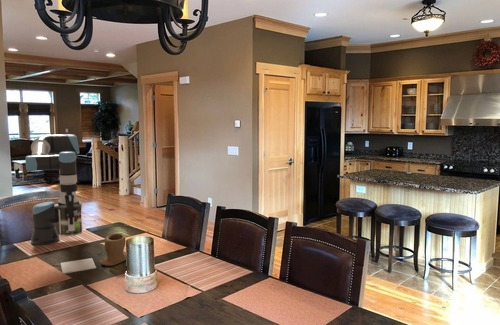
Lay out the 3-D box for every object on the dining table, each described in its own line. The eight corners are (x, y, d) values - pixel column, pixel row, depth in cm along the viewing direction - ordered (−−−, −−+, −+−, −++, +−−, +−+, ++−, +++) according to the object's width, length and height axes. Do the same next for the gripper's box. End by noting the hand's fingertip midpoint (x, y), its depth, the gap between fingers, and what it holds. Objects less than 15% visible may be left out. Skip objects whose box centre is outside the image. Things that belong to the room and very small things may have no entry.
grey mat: (60, 263, 200) (60, 263, 200) (92, 258, 208) (92, 258, 207) (62, 273, 187) (62, 272, 187) (96, 268, 194) (96, 267, 194)
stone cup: (113, 269, 193) (112, 239, 192) (96, 265, 199) (95, 236, 197) (136, 260, 206) (135, 232, 205) (120, 256, 212) (119, 229, 210)
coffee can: (86, 233, 195) (85, 205, 194) (65, 237, 187) (64, 208, 186) (75, 229, 202) (74, 202, 200) (55, 234, 194) (54, 205, 192)
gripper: (59, 180, 200) (61, 223, 202) (61, 187, 180) (63, 234, 182) (75, 179, 203) (77, 222, 206) (78, 186, 184) (81, 232, 186)
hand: (70, 228), depth 194 cm, fingers closed on coffee can, 10 cm apart
